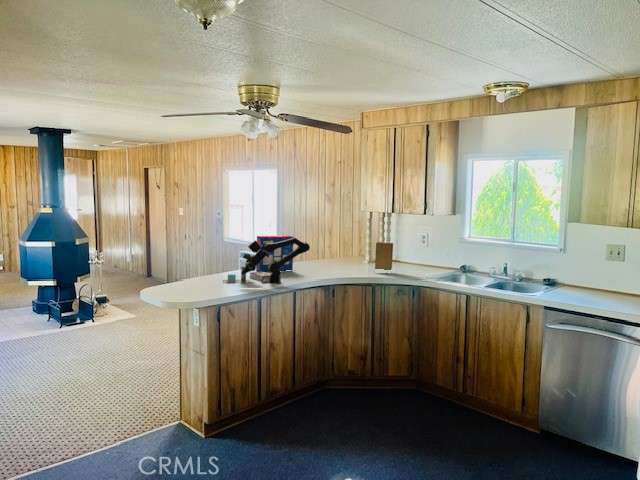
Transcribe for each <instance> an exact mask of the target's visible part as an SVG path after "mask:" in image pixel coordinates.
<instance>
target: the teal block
mask: <svg viewBox="0 0 640 480" xmlns="http://www.w3.org/2000/svg"><path fill="white" fill-rule="evenodd" d="M236 275H237V274H236V273H233V272H231V273H227V280H228V282H235V281H236V280H237V279H236Z"/></svg>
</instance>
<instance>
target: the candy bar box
mask: <svg viewBox="0 0 640 480" xmlns="http://www.w3.org/2000/svg"><path fill="white" fill-rule="evenodd" d="M271 274H272V273H271V272H269V273H266V272H256V271H251V272H249V278H251V279H252V280H257V281H260V282H261V283H270V276H271Z"/></svg>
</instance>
